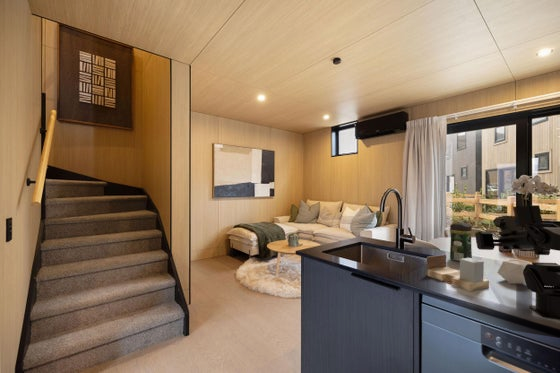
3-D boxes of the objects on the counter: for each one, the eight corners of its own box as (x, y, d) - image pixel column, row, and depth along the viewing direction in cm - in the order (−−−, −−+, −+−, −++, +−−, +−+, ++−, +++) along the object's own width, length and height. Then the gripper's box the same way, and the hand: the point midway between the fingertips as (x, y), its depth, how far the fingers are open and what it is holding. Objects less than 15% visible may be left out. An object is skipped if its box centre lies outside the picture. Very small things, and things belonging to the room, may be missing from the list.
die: (532, 290, 90) (538, 266, 93) (507, 277, 92) (514, 254, 95) (512, 290, 98) (518, 267, 101) (490, 277, 99) (496, 256, 102)
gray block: (483, 280, 91) (483, 261, 91) (474, 282, 89) (474, 262, 89) (468, 276, 95) (468, 257, 95) (459, 277, 94) (459, 258, 94)
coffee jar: (455, 256, 131) (456, 220, 131) (474, 260, 124) (474, 222, 124) (446, 259, 125) (447, 222, 125) (465, 263, 119) (466, 224, 119)
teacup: (504, 273, 106) (504, 260, 106) (509, 270, 110) (509, 257, 110) (537, 281, 98) (538, 267, 98) (542, 277, 102) (542, 263, 102)
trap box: (488, 287, 91) (489, 266, 91) (469, 291, 88) (469, 269, 88) (444, 272, 107) (444, 254, 107) (426, 275, 103) (426, 256, 103)
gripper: (550, 215, 82) (511, 222, 97) (488, 214, 84) (460, 220, 99) (558, 251, 79) (517, 252, 94) (494, 248, 81) (464, 250, 96)
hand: (489, 242), depth 96 cm, fingers open, 9 cm apart
